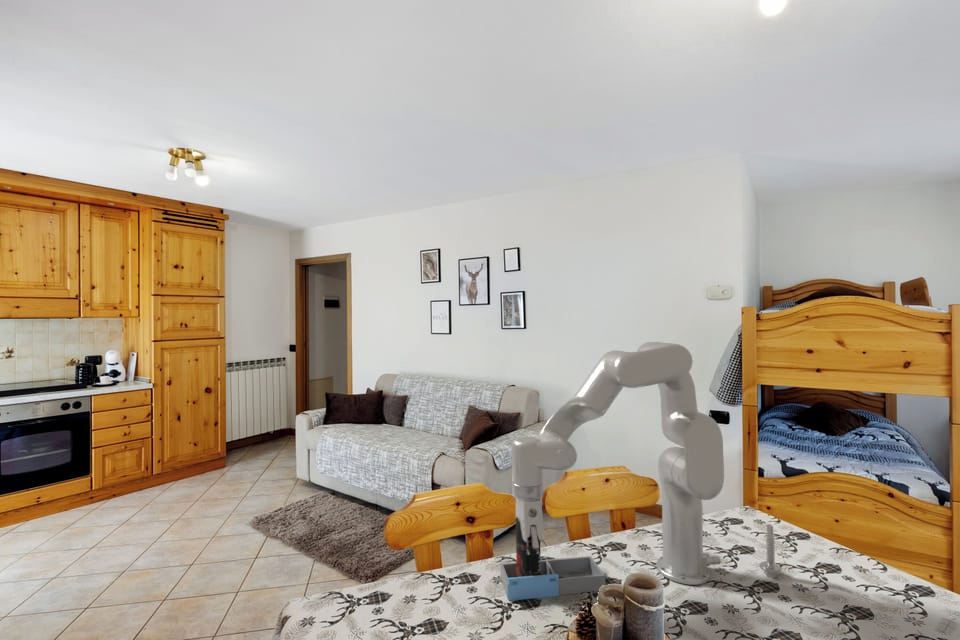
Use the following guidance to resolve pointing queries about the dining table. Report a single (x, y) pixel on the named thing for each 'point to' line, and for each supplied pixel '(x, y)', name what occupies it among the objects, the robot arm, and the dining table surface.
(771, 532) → the screw
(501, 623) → the dining table surface
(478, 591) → the dining table surface
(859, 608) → the dining table surface
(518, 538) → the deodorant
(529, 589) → the two-compartment tray
